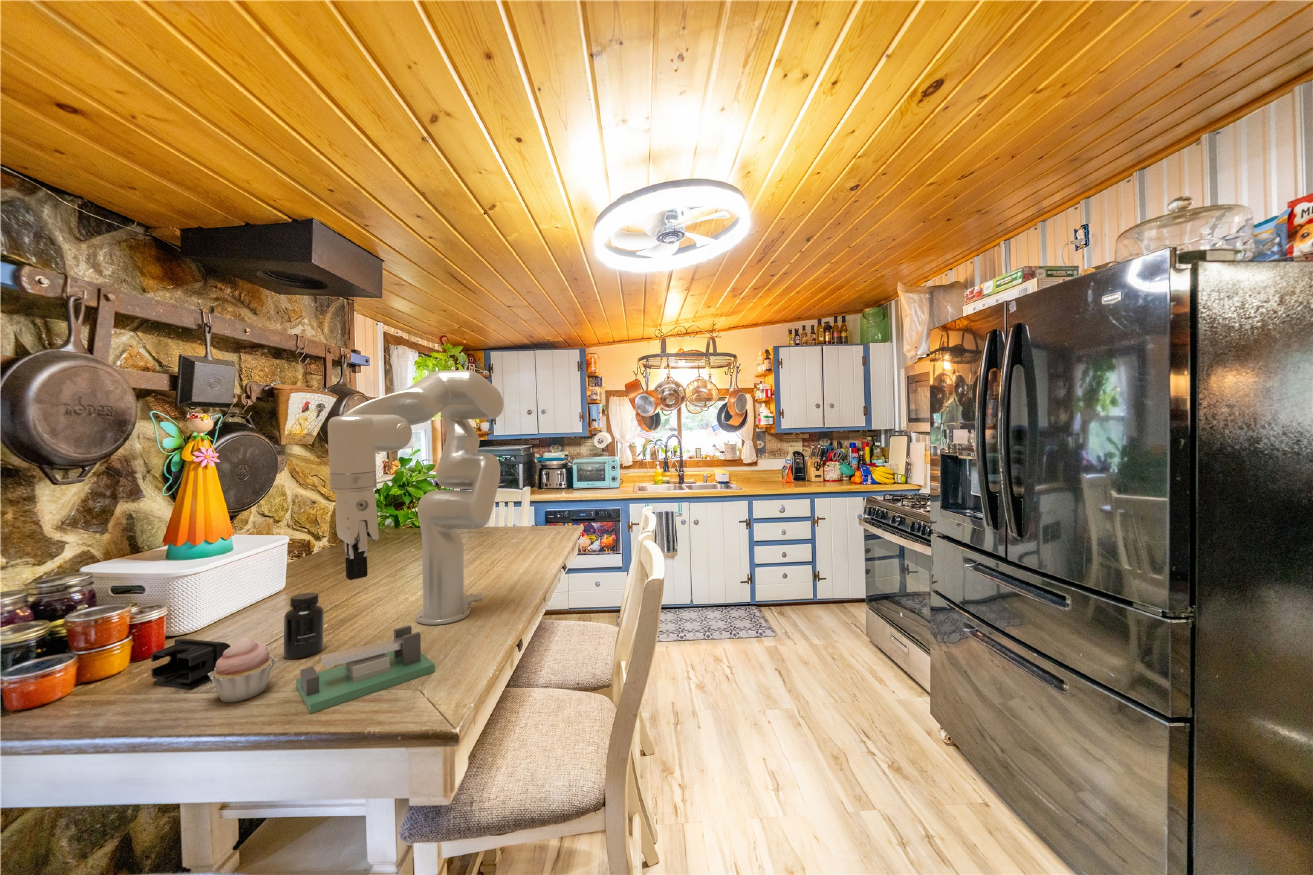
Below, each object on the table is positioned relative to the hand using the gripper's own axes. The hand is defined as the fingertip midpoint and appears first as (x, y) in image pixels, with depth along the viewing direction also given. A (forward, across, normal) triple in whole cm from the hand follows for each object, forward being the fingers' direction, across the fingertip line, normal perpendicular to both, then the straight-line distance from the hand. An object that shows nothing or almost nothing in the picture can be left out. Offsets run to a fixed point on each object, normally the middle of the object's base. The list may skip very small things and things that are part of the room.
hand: (356, 577), depth 94 cm
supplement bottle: (+19, +19, +6) cm, 27 cm away
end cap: (+19, +21, +22) cm, 36 cm away
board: (+19, -4, 0) cm, 19 cm away
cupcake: (+19, +7, +17) cm, 26 cm away
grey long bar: (+14, -3, -1) cm, 15 cm away
